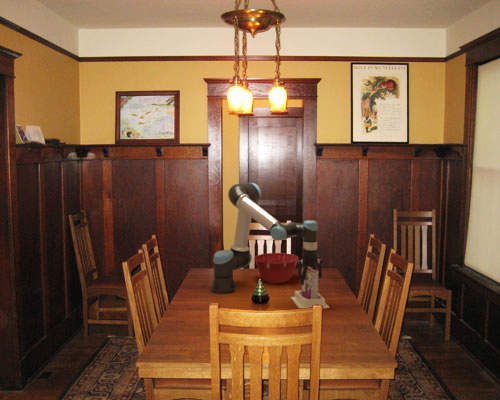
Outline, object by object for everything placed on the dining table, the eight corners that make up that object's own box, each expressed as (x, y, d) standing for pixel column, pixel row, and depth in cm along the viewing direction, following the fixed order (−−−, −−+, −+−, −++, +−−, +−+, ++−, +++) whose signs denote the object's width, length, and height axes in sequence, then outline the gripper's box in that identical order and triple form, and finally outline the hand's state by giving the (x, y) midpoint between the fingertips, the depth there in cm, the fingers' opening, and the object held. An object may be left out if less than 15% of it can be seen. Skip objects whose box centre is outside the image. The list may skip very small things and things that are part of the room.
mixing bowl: (248, 284, 292) (248, 260, 290) (261, 273, 319) (261, 251, 317) (292, 289, 283) (292, 264, 281) (302, 276, 310) (302, 254, 308)
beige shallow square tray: (300, 309, 246) (300, 301, 246) (290, 297, 266) (290, 290, 265) (329, 308, 249) (329, 299, 248) (317, 296, 269) (317, 288, 268)
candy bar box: (300, 295, 261) (301, 267, 259) (308, 294, 263) (309, 266, 261) (310, 301, 251) (311, 271, 249) (318, 300, 253) (319, 271, 251)
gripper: (295, 251, 249) (295, 293, 251) (328, 249, 252) (328, 291, 254) (291, 248, 256) (291, 289, 259) (324, 247, 259) (323, 287, 262)
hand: (309, 290), depth 257 cm, fingers closed on candy bar box, 6 cm apart
